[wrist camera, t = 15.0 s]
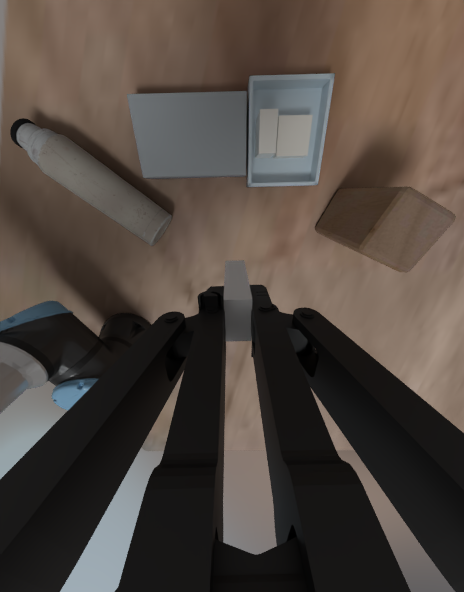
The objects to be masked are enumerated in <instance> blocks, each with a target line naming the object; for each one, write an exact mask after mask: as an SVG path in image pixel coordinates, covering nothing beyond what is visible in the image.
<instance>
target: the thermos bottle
mask: <svg viewBox="0 0 464 592" xmlns="http://www.w3.org/2000/svg"><path fill="white" fill-rule="evenodd" d="M10 134H11V138H12V140H13V142H14V143H15V144H17V145H18V146H20V147H21V148H24V149H25V150H26V151H27V152H28V155H29V157H30V158H31V160H32V161H34V162H35V163H36V164H37V165H38V166H39V167H40V169H41V171H42V172H43V173H45V174H46V175H48V176H49V177H51V178H52V179H54V180H55V181H56V182H58V183H59V184H61V185H62V186H64V187H65V188H67V189H68V190H70V191H71V192H73V193H74V194H76V195H77V196H79V197H80V198H82V199H83V200H85V201H86V202H88V203H89V204H90V205H92V206H93V207H95V208H96V209H98V210H99V211H101V212H102V213H104V214H105V215H107V216H108V217H110V218H111V219H113V220H114V221H116V222H117V223H119V224H120V225H122V226H123V227H125V228H126V229H127V230H129V231H130V232H132V233H133V234H135V235H136V236H138V237H139V238H141V239H142V240H144V241H145V242H147V243H148V244H150V245H151V246H153V245H154V244H155V243H156V242H157V241H158V240H159V239H160V238H161V236H162V235H163V233H164V232H165V230H166V229H167V227H168V225H169V223H170V221H171V219H172V215H170V214H169V213H168V212H166V211H165V210H164V209H162V208H161V207H160V206H158V205H157V204H155V203H154V202H153V201H151V200H150V199H149V198H148V197H146V196H145V195H144V194H142V193H141V192H140V191H138V190H137V189H136V188H134V187H133V186H131V185H130V184H129V183H127V182H126V181H125V180H123V179H122V178H121V177H119V176H118V175H117V174H115V173H114V172H113V171H112V170H110V169H109V168H108V167H106V166H105V165H104V164H102V163H101V162H100V161H98V160H97V159H96V158H94V157H93V156H92V155H90V154H89V153H88V152H86V151H85V150H84V149H82V148H81V147H79V146H78V145H77V144H75V143H74V142H73V141H71V140H70V139H69V138H67V137H66V136H64V135H60V134H57V133H56V132H54V131H51V130H50V129H45V128H43V129H41V128H40V127H38V126H36V125H35V124H34V123H33V122H31V121H30V120H28V119H24V118H23V119H19V120H17V121H15V122H14V123H13V125H12V127H11V133H10Z"/></svg>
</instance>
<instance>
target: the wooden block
mask: <svg viewBox="0 0 464 592" xmlns="http://www.w3.org/2000/svg"><path fill="white" fill-rule="evenodd" d="M455 218H456V216H455V214H453V213H452V212H451V211H449V210H447V209H446V208H444V207H443V206H441V205H439V204H438V203H436V202H434V201H433V200H431V199H429V198H428V197H426V196H425V195H423V194H421V193H420V192H418V191H416V190H415V189H413V188H411V187H380V188H342V189H339V190H338V191H337V192H336V194H335V196H334V197H333V199H332V201H331V202H330V204H329V206H328V207H327V209H326V211H325V212H324V214H323V216H322V217H321V219H320V221H319V222H318V224H317V226H316V228H315V230H316V232H317V233H319V234H321V235H323V236H325V237H327V238H329V239H331V240H334V241H336V242H338V243H340V244H342V245H344V246H346V247H348V248H350V249H352V250H354V251H356V252H358V253H361V254H363V255H365V256H367V257H369V258H371V259H373V260H375V261H377V262H380V263H382V264H384V265H386V266H388V267H390V268H392V269H394V270H396V271H399V272H408V271H410V270H411V269H412V268H413V267H414V266H415V265H416V264H417V263H418V261H419V260H420V259H421V258H422V257H423V256H424V255H425V254H426V252H427V251H428V250H429V249H430V248H431V247H432V246H433V245H434V243H435V242H436V241H437V240H438V239H439V238H440V237H441V236H442V234H443V233H444V232H445V231H446V230H447V229H448V228H449V227H450V226H451V224H452V223H453V222H454V220H455Z"/></svg>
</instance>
